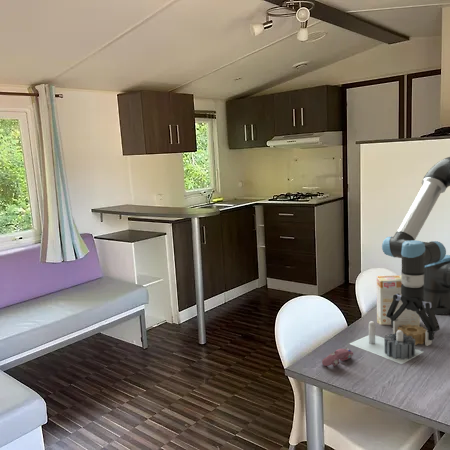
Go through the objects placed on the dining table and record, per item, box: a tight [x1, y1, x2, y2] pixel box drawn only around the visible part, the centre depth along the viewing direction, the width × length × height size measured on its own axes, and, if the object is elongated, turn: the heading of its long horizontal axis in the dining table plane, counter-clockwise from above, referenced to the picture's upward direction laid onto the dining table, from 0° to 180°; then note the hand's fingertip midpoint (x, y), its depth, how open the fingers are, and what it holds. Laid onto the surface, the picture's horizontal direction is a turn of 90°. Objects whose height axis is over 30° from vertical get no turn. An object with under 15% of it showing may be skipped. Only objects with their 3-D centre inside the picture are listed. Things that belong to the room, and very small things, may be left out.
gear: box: [383, 333, 416, 360], centre depth 154 cm, size 10×10×5 cm
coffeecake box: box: [376, 274, 421, 327], centre depth 180 cm, size 15×7×20 cm, turn 84°
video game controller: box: [321, 347, 354, 367], centre depth 151 cm, size 10×5×7 cm, turn 118°
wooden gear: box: [398, 324, 427, 346], centre depth 164 cm, size 10×10×5 cm
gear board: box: [349, 320, 424, 365], centre depth 158 cm, size 13×21×10 cm, turn 36°
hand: (411, 342), depth 165 cm, fingers open, 12 cm apart
